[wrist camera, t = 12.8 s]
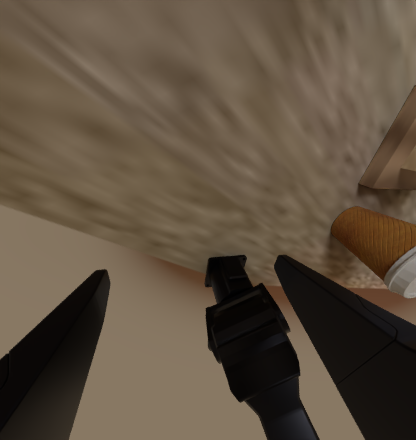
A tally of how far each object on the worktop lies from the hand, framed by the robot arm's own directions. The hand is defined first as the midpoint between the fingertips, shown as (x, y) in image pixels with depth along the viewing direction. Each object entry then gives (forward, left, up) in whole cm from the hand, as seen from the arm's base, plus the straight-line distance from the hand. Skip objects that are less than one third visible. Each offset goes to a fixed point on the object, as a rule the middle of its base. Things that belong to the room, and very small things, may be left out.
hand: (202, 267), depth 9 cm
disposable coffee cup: (-6, -29, -13) cm, 33 cm away
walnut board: (+7, -33, -13) cm, 36 cm away
